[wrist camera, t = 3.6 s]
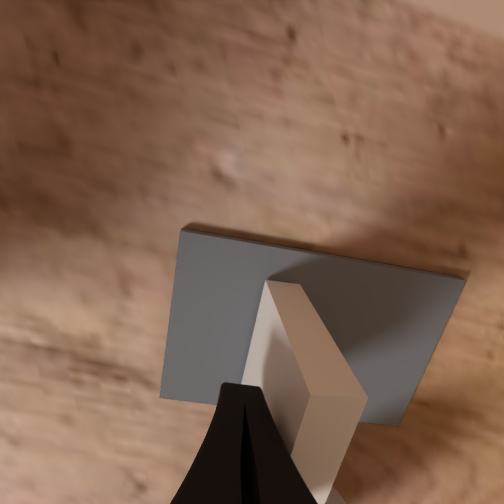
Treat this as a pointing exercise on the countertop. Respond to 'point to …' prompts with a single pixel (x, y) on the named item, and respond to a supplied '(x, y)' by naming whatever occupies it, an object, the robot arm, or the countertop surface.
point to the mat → (325, 303)
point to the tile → (304, 384)
